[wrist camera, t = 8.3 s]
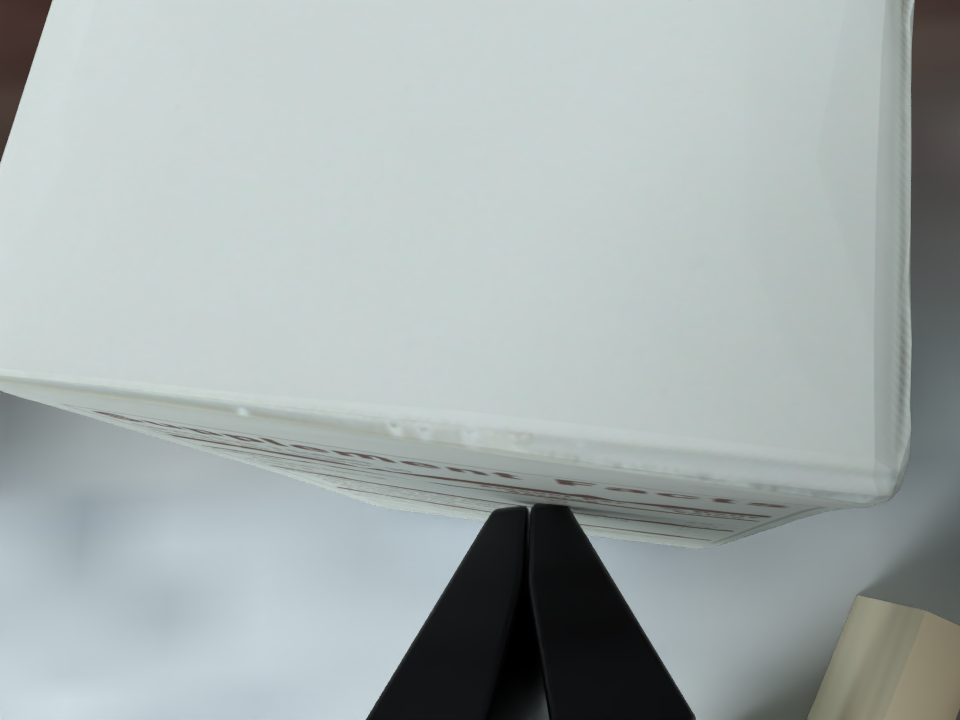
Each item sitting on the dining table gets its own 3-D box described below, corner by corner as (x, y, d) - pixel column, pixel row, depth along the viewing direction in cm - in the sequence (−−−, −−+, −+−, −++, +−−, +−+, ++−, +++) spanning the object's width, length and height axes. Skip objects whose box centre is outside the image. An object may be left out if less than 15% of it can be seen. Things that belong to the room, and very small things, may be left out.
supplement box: (430, 218, 20) (138, -343, 8) (737, 239, 18) (958, -417, 6) (376, 513, 18) (-113, 371, 6) (712, 564, 16) (953, 509, 4)
